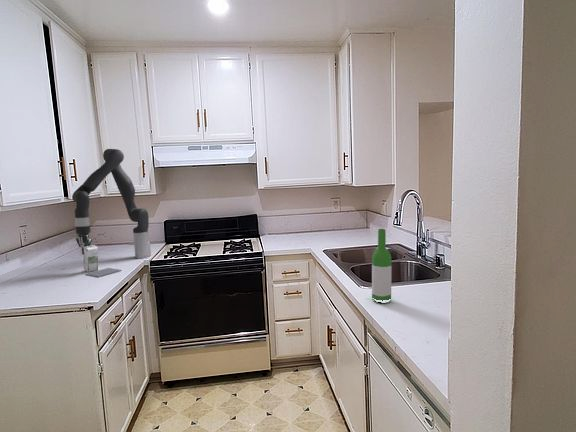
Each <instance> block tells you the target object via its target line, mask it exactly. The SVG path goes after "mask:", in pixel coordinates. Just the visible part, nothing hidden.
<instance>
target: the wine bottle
mask: <svg viewBox="0 0 576 432" xmlns="http://www.w3.org/2000/svg"><path fill="white" fill-rule="evenodd" d="M386 247H387V245H386V229H385V228H379V229H378V230H377V249H375V250H374V251H373V253H372V257H371V299H372V298H374V299H376V300H382V301H383V300H389V299H391V300H392V255H391V252H390V251H389V250H388V249H387V248H386Z"/></svg>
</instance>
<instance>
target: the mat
mask: <svg viewBox="0 0 576 432" xmlns="http://www.w3.org/2000/svg"><path fill="white" fill-rule="evenodd" d="M121 271H122V269H118V268H112V267H107V268H103V269H100V270H96V271H92V272H87V273H84V274H85V276H88V275H89V277H94V278H101V277H105V276H109V275H112V274H116V273H119V272H121Z"/></svg>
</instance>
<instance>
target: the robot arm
mask: <svg viewBox="0 0 576 432" xmlns="http://www.w3.org/2000/svg"><path fill="white" fill-rule="evenodd" d="M102 158H103V161H104V163H103V164H102V165H101V166H100V167H98V168H97V169H96V170H94V171H93V172H92V173H91V174H90V175H88V177H87V178H86V179H85V180H84V182H83V183H82V184H81V185H80V186H78V188H77V189H76V190H75V191H74V192H73V193H72V195H71V199H72V201H73V202H75V203H76V204H75V205H76V207H75V208H74V227H75V234H76V235H77V237H76V238H75V241H76V243H77V245H78V247H79V248H80V249H81V255H83V256H84V247H85V246H91V245H92V244H91V243H92V241H93V239H92V238H90V234H91V232H92V231H91V221H90V212H89V208H90V194H91V193H92V192H94V191H96V189H97V188H98V187H99V186H100V184H102V182H103V181H104V180H105V179H106V177H107V176H108V175H109V174H111V175H112V177H113V180H114V182H115V184H116V187H117V189H118V192H119V193H120V195H121V198H122V200H123V202H124V205H125V208H126V211H127V214H128V218H129V220H130V221H132V222H133V223H137V226H136V227H134V228H133V229H132V232H133V233H132V234H133V246H134V247H133V248H134V258H135V259H145V258H146V259H147V258H149V257H151V255H152V254H151V253H152V252H151V242H150V241H149V227H150V226H149V212H148V210H147V209H146V208H138V207H137V206H136V201H135V195H136V189H135V185H134V184H133V180H132V179H131V178H130V176H129V175H128V174H127V173H126V172H125V171H124V169H123V168H122V165H121V164H122V162H123V161H124V158H125V154H124V152H123V151H122V150H120V149H117V148H107V149H105V150H104V151H103V153H102Z"/></svg>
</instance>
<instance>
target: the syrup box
mask: <svg viewBox="0 0 576 432" xmlns="http://www.w3.org/2000/svg"><path fill="white" fill-rule="evenodd" d="M98 269H99V247H98V246H97V245H95V244H90V246H85V247H84V255H83V270H85V272H87V273H91V272H95V271H98Z"/></svg>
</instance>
